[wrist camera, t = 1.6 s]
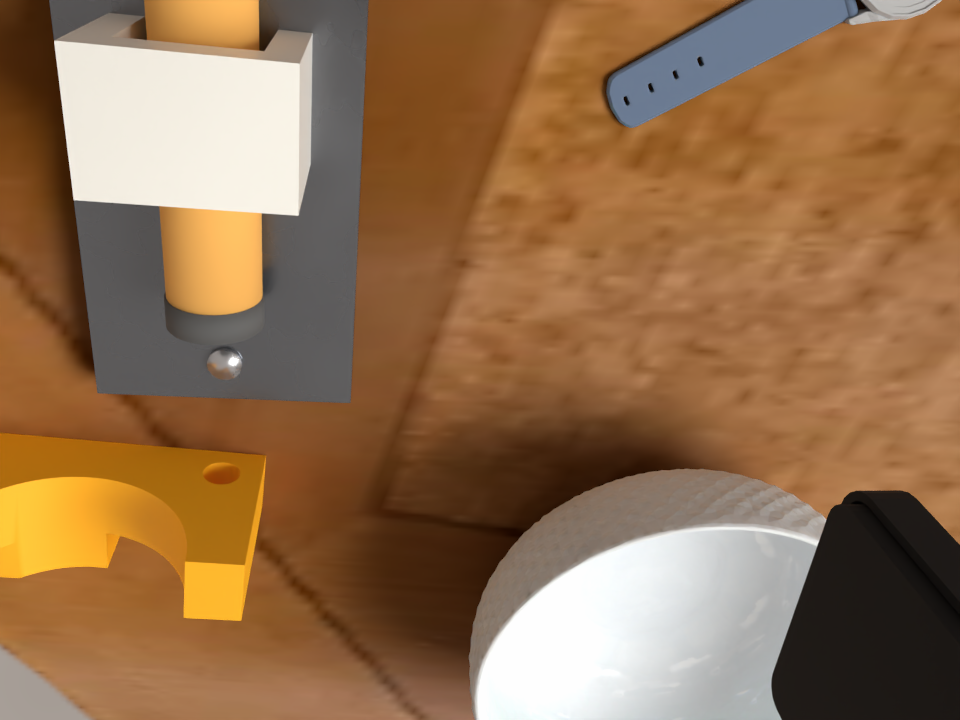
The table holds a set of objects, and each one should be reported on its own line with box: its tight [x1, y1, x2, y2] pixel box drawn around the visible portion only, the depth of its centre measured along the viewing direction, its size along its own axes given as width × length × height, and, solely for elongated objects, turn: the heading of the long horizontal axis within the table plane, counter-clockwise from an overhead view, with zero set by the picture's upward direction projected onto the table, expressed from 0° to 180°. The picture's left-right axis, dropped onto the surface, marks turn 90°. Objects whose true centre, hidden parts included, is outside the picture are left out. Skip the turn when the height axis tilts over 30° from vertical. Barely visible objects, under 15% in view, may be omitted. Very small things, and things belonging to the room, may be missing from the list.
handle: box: [144, 0, 264, 345], centre depth 25 cm, size 14×3×3 cm, turn 174°
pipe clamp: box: [0, 433, 266, 621], centre depth 31 cm, size 12×4×6 cm, turn 80°
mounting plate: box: [49, 0, 368, 403], centre depth 26 cm, size 22×9×1 cm, turn 174°
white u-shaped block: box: [54, 13, 313, 216], centre depth 24 cm, size 4×6×5 cm
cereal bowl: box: [469, 469, 826, 720], centre depth 36 cm, size 17×17×7 cm
